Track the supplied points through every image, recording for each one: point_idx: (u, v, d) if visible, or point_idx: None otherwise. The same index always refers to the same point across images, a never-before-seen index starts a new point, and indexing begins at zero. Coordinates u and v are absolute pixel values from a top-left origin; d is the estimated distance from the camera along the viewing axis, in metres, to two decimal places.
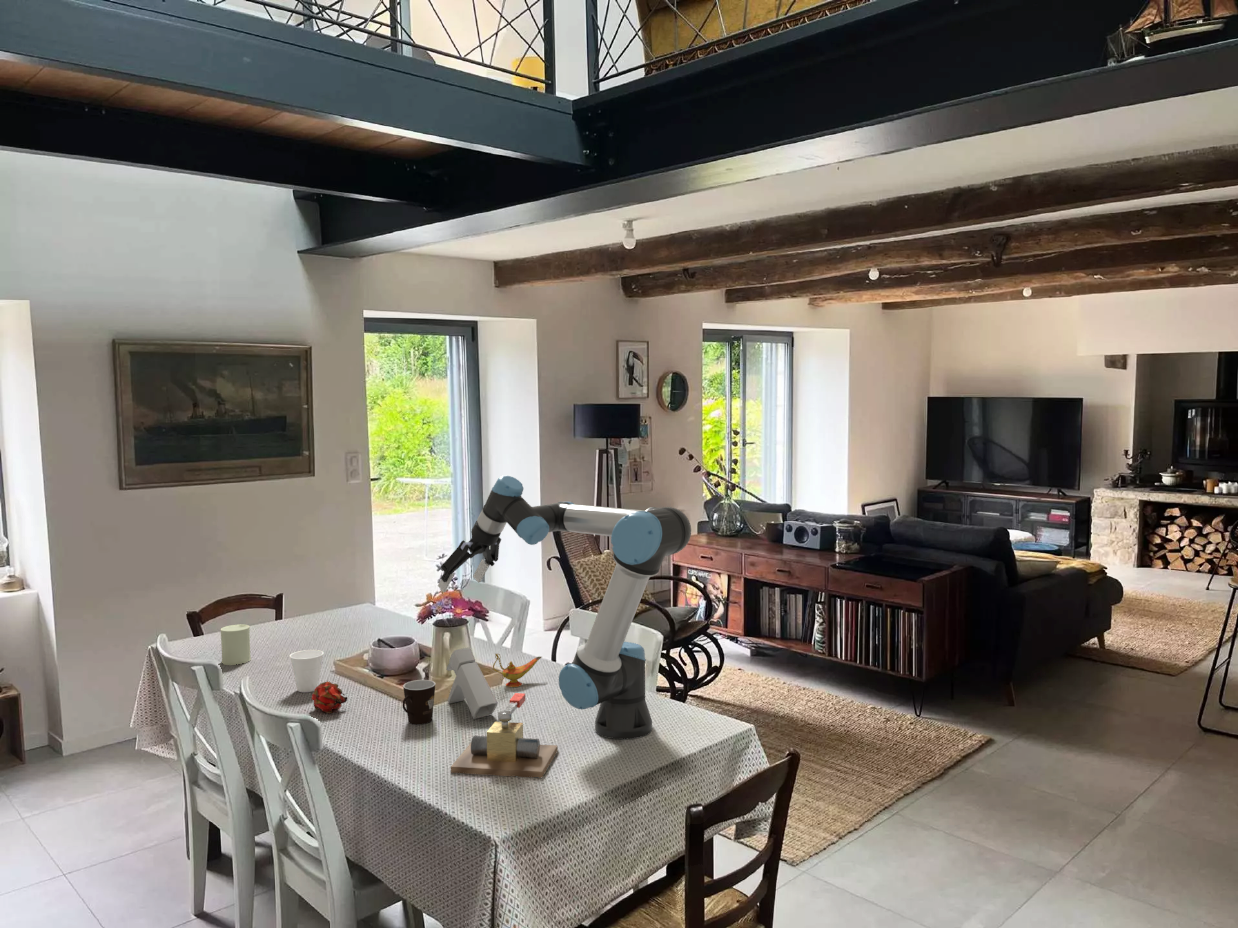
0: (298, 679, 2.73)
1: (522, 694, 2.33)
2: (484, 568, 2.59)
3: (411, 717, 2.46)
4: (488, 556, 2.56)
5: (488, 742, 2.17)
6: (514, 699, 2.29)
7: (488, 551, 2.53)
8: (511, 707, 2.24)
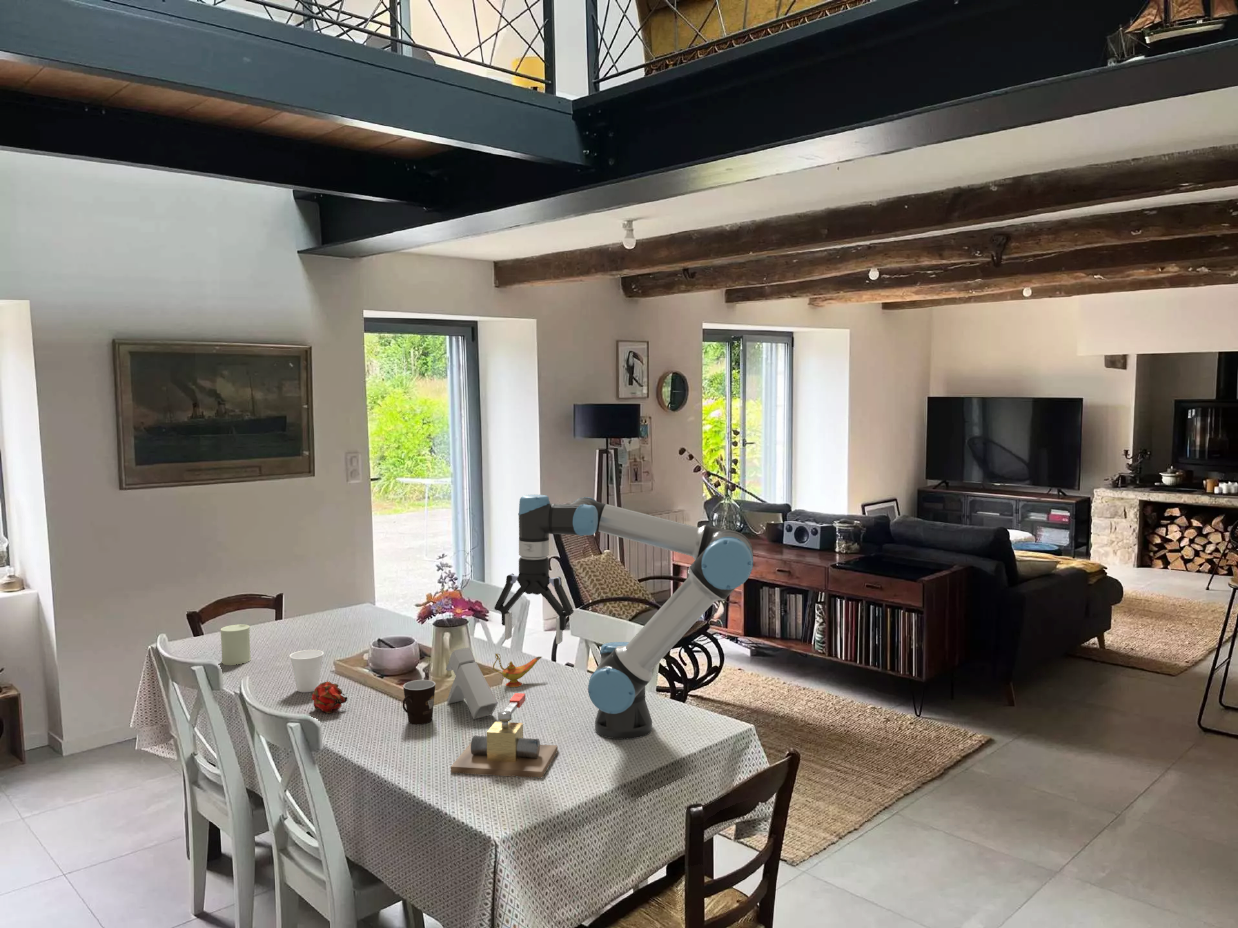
0: (298, 679, 2.73)
1: (522, 694, 2.33)
2: (511, 617, 2.31)
3: (411, 717, 2.46)
4: None
5: (488, 742, 2.17)
6: (514, 699, 2.29)
7: None
8: (511, 707, 2.24)
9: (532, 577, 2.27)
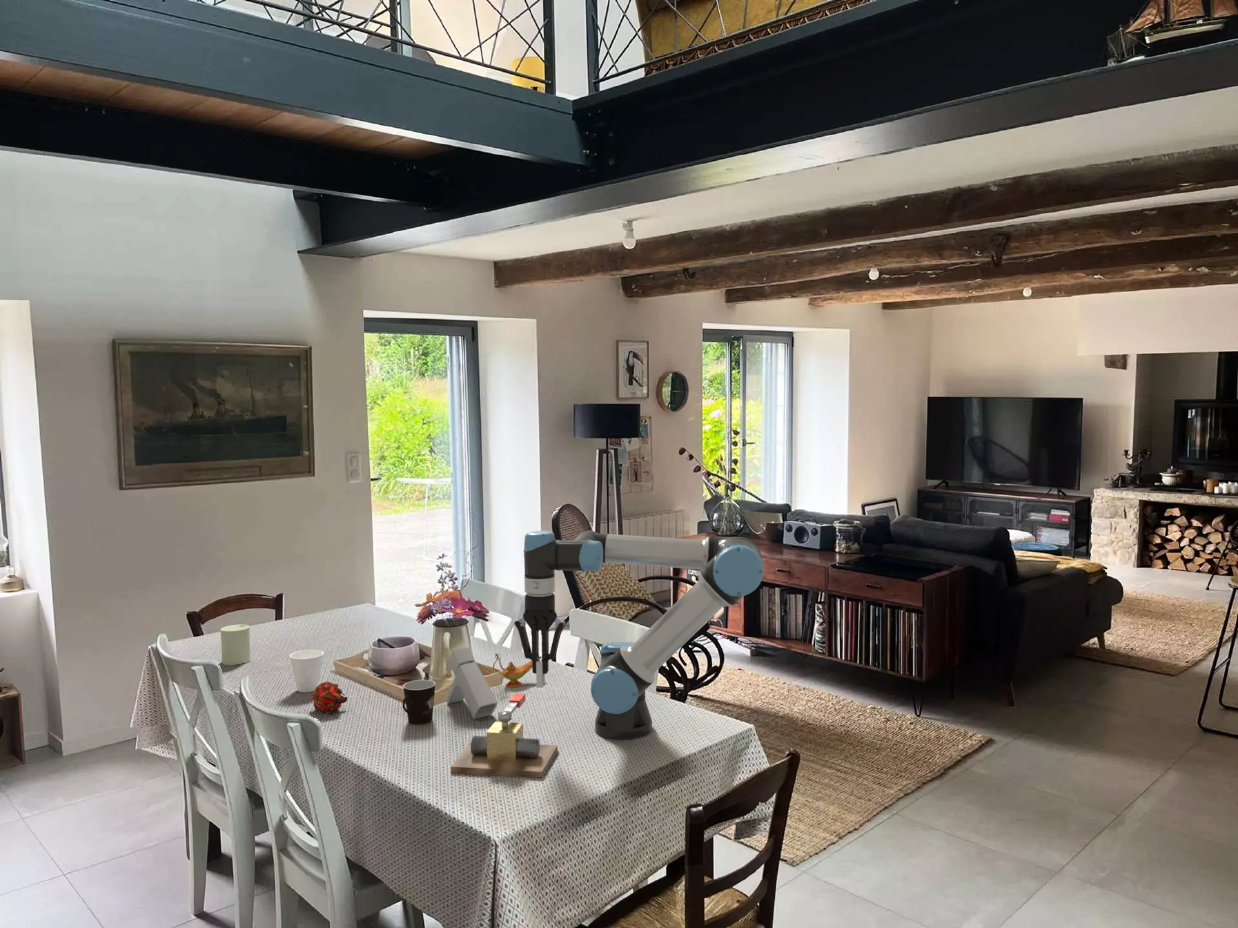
0: (298, 679, 2.73)
1: (522, 694, 2.33)
2: None
3: (411, 717, 2.46)
4: None
5: (488, 742, 2.17)
6: (514, 699, 2.29)
7: None
8: (511, 707, 2.24)
9: (539, 614, 2.27)
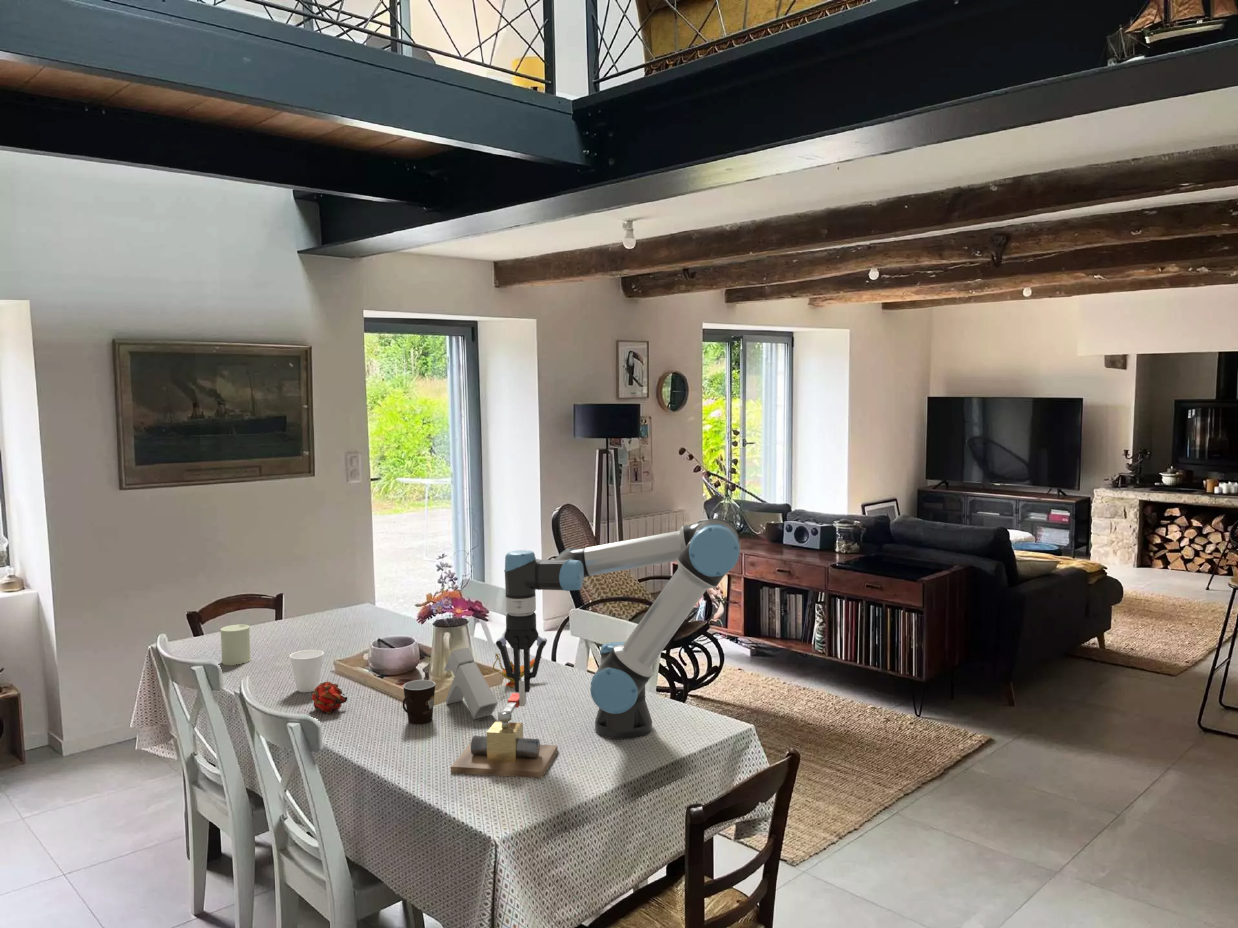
0: (298, 679, 2.73)
1: None
2: None
3: (411, 717, 2.46)
4: None
5: (488, 742, 2.17)
6: (512, 699, 2.29)
7: None
8: (510, 707, 2.24)
9: (520, 633, 2.28)
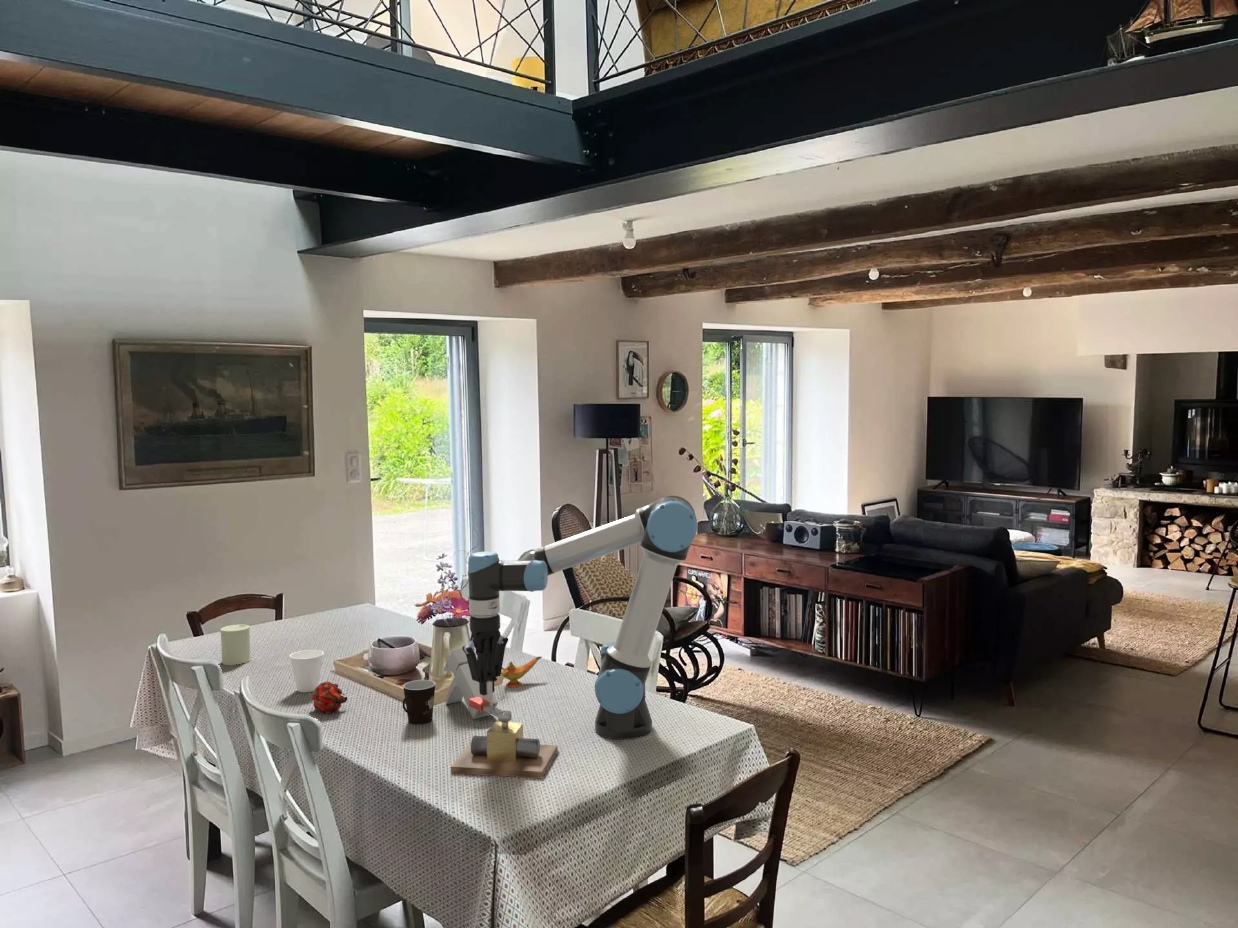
0: (298, 679, 2.73)
1: (477, 698, 2.30)
2: None
3: (411, 717, 2.46)
4: None
5: (488, 742, 2.17)
6: (482, 702, 2.27)
7: None
8: (495, 708, 2.23)
9: (488, 634, 2.27)
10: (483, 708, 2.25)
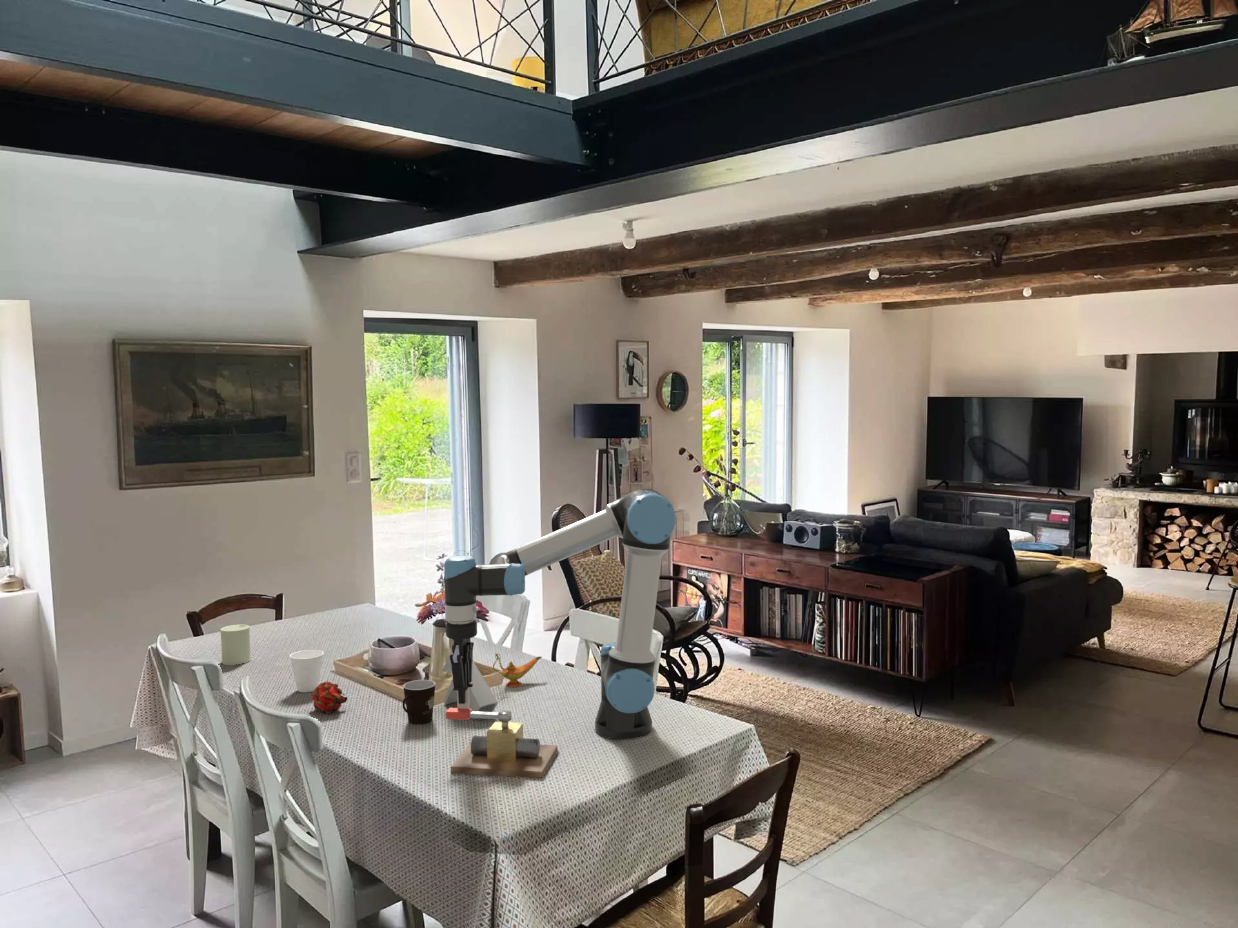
0: (298, 679, 2.73)
1: (452, 708, 2.23)
2: None
3: (411, 717, 2.46)
4: None
5: (488, 742, 2.17)
6: (466, 710, 2.21)
7: None
8: (486, 712, 2.21)
9: (466, 640, 2.22)
10: (471, 715, 2.20)
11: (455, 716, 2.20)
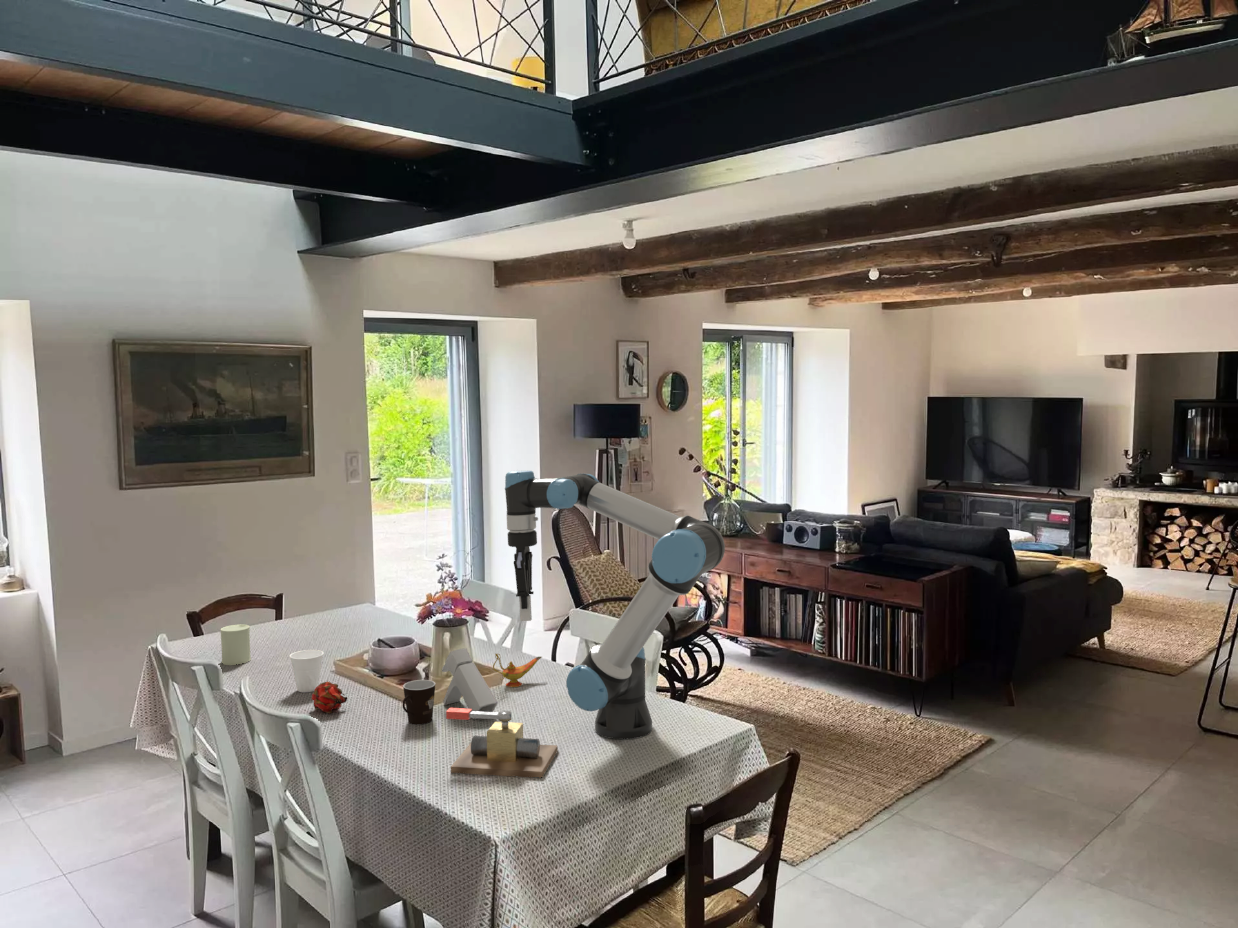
0: (298, 679, 2.73)
1: (452, 708, 2.23)
2: None
3: (411, 717, 2.46)
4: None
5: (488, 742, 2.17)
6: (466, 710, 2.21)
7: None
8: (486, 712, 2.21)
9: (527, 549, 2.36)
10: (471, 715, 2.20)
11: (455, 716, 2.20)
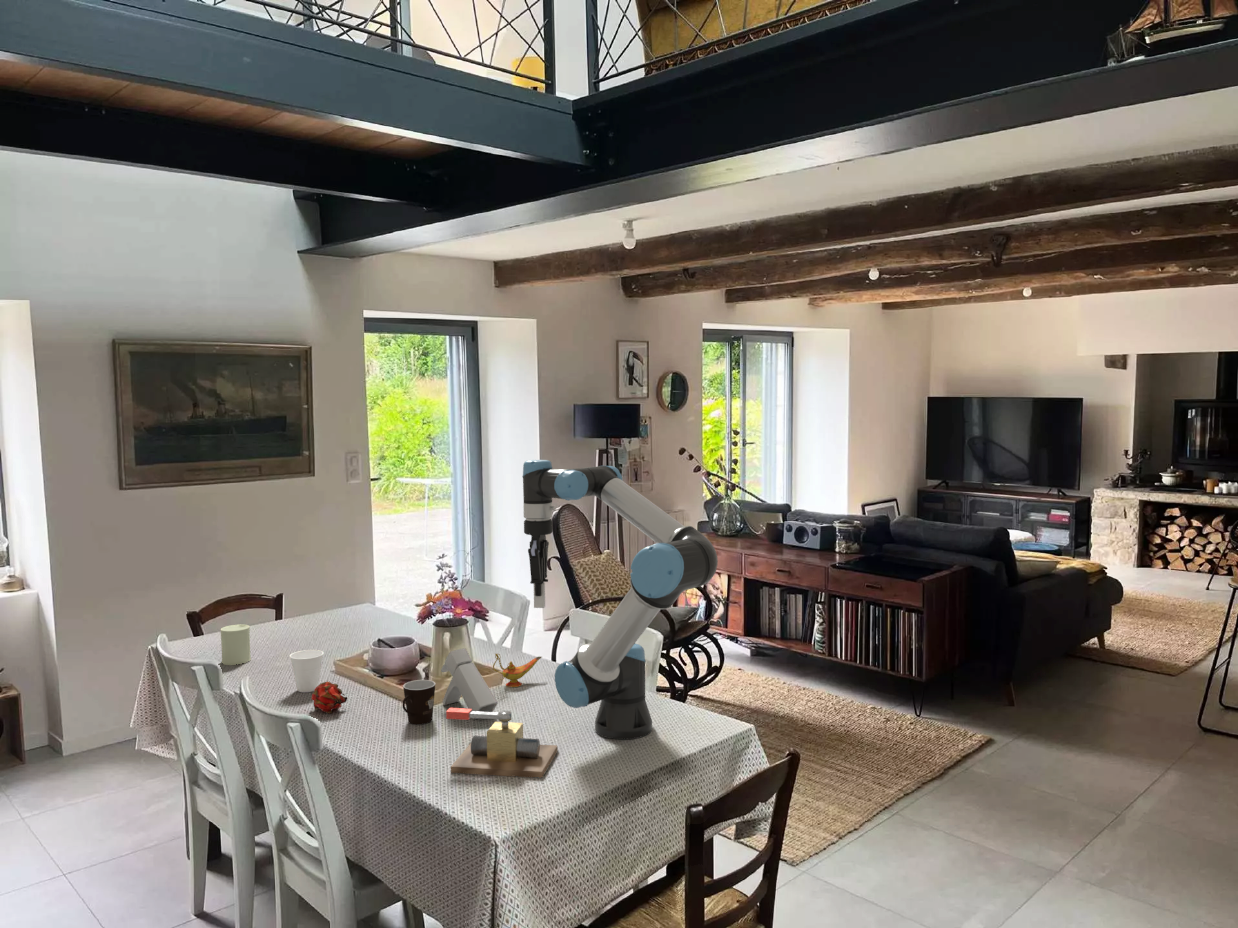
0: (298, 679, 2.73)
1: (452, 708, 2.23)
2: None
3: (411, 717, 2.46)
4: None
5: (488, 742, 2.17)
6: (466, 710, 2.21)
7: None
8: (486, 712, 2.21)
9: (542, 537, 2.40)
10: (471, 715, 2.20)
11: (455, 716, 2.20)
